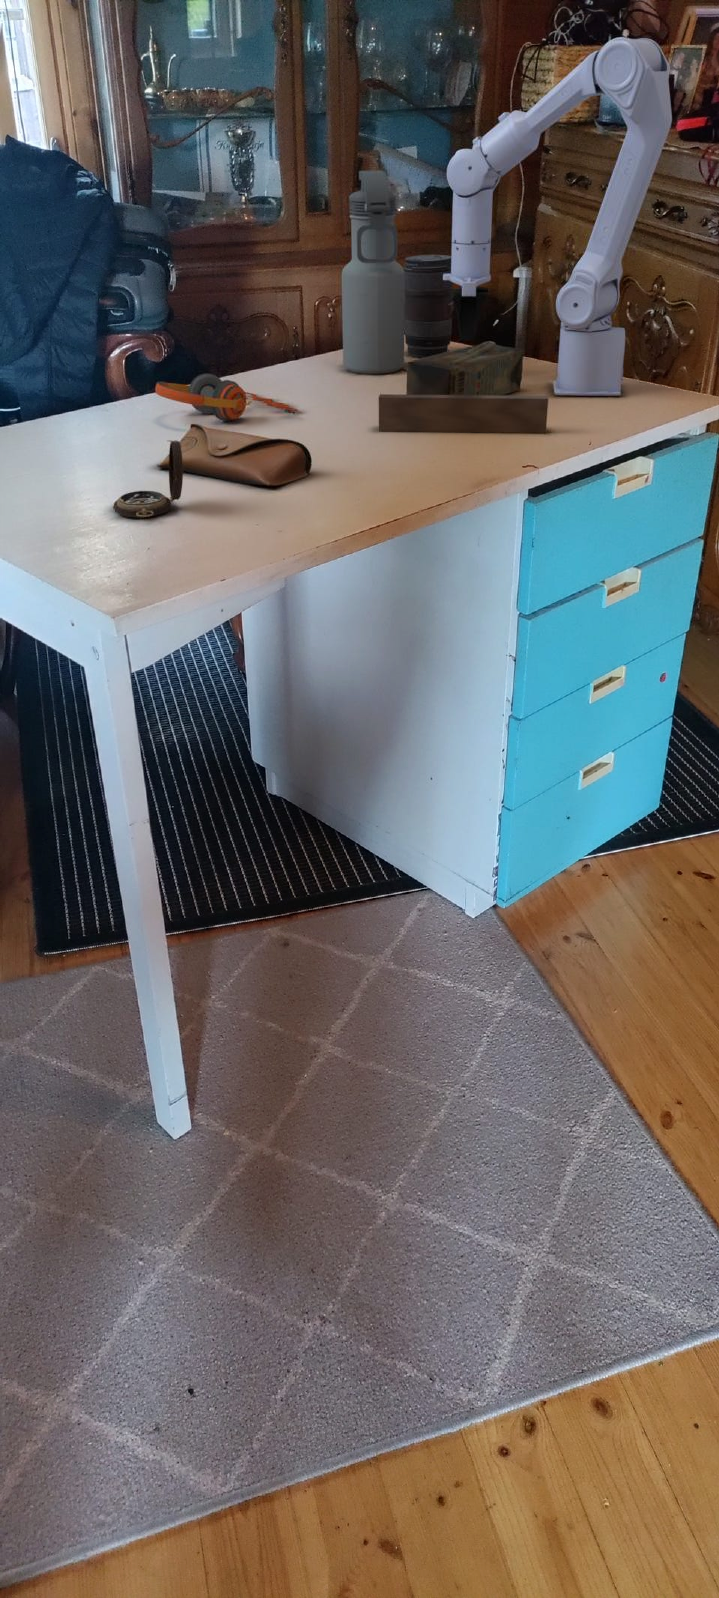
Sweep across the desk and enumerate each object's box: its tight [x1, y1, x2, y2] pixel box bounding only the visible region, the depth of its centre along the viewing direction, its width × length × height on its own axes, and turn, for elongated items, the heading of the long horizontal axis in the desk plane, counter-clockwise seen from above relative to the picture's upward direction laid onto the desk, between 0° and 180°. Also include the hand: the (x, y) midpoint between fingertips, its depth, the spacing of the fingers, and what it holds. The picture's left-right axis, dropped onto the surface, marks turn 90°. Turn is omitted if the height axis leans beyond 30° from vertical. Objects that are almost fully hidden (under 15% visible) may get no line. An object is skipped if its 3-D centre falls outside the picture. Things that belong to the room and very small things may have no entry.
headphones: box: [155, 373, 299, 422], centre depth 165 cm, size 17×5×20 cm
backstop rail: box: [378, 393, 549, 434], centre depth 156 cm, size 22×2×4 cm, turn 84°
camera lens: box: [403, 254, 454, 358], centre depth 196 cm, size 8×8×15 cm
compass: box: [112, 439, 184, 518], centre depth 128 cm, size 8×8×7 cm
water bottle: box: [341, 169, 405, 375], centre depth 183 cm, size 10×10×28 cm
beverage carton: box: [405, 340, 524, 396], centre depth 170 cm, size 8×19×7 cm, turn 140°
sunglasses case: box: [156, 423, 313, 487], centre depth 142 cm, size 18×7×7 cm
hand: (467, 339), depth 181 cm, fingers closed
